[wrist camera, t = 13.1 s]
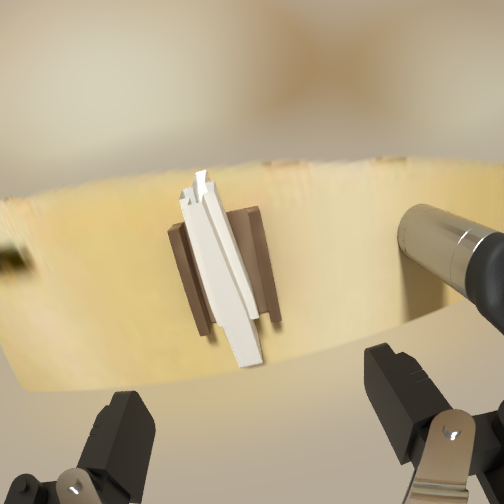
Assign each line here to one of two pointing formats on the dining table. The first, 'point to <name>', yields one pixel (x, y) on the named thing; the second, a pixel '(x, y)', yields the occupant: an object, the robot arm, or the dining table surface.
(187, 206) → the shelf bracket
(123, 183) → the dining table surface
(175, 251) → the walnut channel
